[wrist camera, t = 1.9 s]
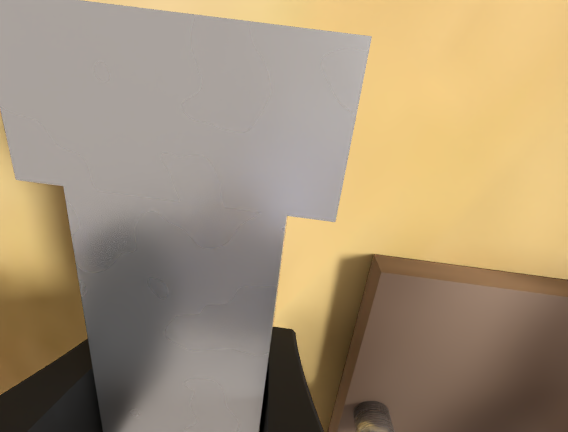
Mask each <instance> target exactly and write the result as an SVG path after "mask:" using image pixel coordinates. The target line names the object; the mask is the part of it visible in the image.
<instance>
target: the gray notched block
mask: <svg viewBox="0 0 568 432" xmlns="http://www.w3.org/2000/svg"><path fill="white" fill-rule="evenodd" d="M371 38H372V36H364V35H356V34H348V33H340V32H332V31H324V30H316V29H308V28H299V27H291V26H283V25H275V24H267V23H259V22H251V21H243V20H235V19H227V18H219V17H211V16H202V15H194V14H186V13H178V12H170V11H162V10H154V9H146V8H138V7H130V6H122V5H114V4H105V3H97V2H89V1H81V0H0V110H1V114H2V119H3V124H4V128H5V133H6V137H7V142H8V146H9V151H10V155H11V160H12V164H13V169H14V173H15V178H16V180H21V181H28V182H36V183H43V184H51V185H59V186H63V188H64V194H65V200H66V206H67V212H68V218H69V225H70V231H71V237H72V243H73V249H74V255H75V262H76V268H77V274H78V280H79V286H80V293H81V299H82V305H83V311H84V317H85V323H86V330H87V336H88V342H89V348H90V354H91V361H92V367H93V373H94V379H95V385H96V391H97V398H98V404H99V410H100V416H101V422H102V428H103V432H259V428H260V419H261V412H262V404H263V396H264V389H265V381H266V373H267V366H268V358H269V351H270V343H271V336H272V329H273V322H274V315H275V307H276V299H277V292H278V284H279V276H280V269H281V261H282V254H283V246H284V238H285V231H286V223H287V216H293V217H301V218H309V219H316V220H324V221H331V222H335V221H336V216H337V211H338V206H339V200H340V195H341V190H342V185H343V180H344V175H345V170H346V165H347V160H348V155H349V150H350V144H351V139H352V134H353V129H354V124H355V119H356V114H357V109H358V104H359V99H360V94H361V88H362V83H363V78H364V73H365V68H366V63H367V58H368V53H369V48H370V43H371Z"/></svg>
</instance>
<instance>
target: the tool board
mask: <svg viewBox="0 0 568 432" xmlns="http://www.w3.org/2000/svg"><path fill="white" fill-rule="evenodd" d="M328 432H568V280H563V279H555V278H548V277H540V276H533V275H525V274H518V273H510V272H503V271H495V270H488V269H480V268H473V267H465V266H458V265H450V264H443V263H435V262H428V261H420V260H413V259H405V258H398V257H390V256H383V255H375V254H374V256H373V260H372V263H371V267H370V271H369V275H368V279H367V283H366V286H365V290H364V294H363V298H362V302H361V306H360V310H359V313H358V317H357V321H356V325H355V329H354V333H353V336H352V340H351V344H350V348H349V352H348V356H347V360H346V363H345V367H344V371H343V375H342V379H341V383H340V387H339V390H338V394H337V398H336V402H335V406H334V410H333V413H332V417H331V421H330V425H329V429H328Z"/></svg>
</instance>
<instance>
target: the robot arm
mask: <svg viewBox="0 0 568 432" xmlns="http://www.w3.org/2000/svg"><path fill="white" fill-rule="evenodd" d="M0 432H103V428H102V422H101V416H100V410H99V404H98V398H97V391H96V385H95V379H94V373H93V367H92V361H91V354H90V348H89V342H88V339H87V340H85V341H84V342H82V343H81V344H79V345H78V346H76V347H75V348H73V349H72V350H70V351H69V352H67V353H66V354H65V355H63V356H62V357H60V358H59V359H57V360H56V361H54V362H52V363H51V364H49V365H48V366H46V367H45V368H43V369H41V370H40V371H38V372H37V373H35V374H33V375H32V376H30V377H29V378H27V379H26V380H24V381H22V382H21V383H19V384H18V385H16V386H14V387H13V388H11V389H10V390H8V391H6V392H5V393H3V394H1V395H0ZM259 432H324V430H323V428H322V425H321V423H320V420H319V418H318V415H317V412H316V409H315V406H314V404H313V401H312V398H311V395H310V391H309V388H308V385H307V382H306V379H305V376H304V372H303V368H302V365H301V361H300V357H299V352H298V347H297V341H296V333H295V332H294V331H293V330H292V329H286V328H279V327H273V329H272V336H271V343H270V351H269V358H268V366H267V373H266V381H265V389H264V396H263V404H262V412H261V419H260V428H259Z"/></svg>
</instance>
